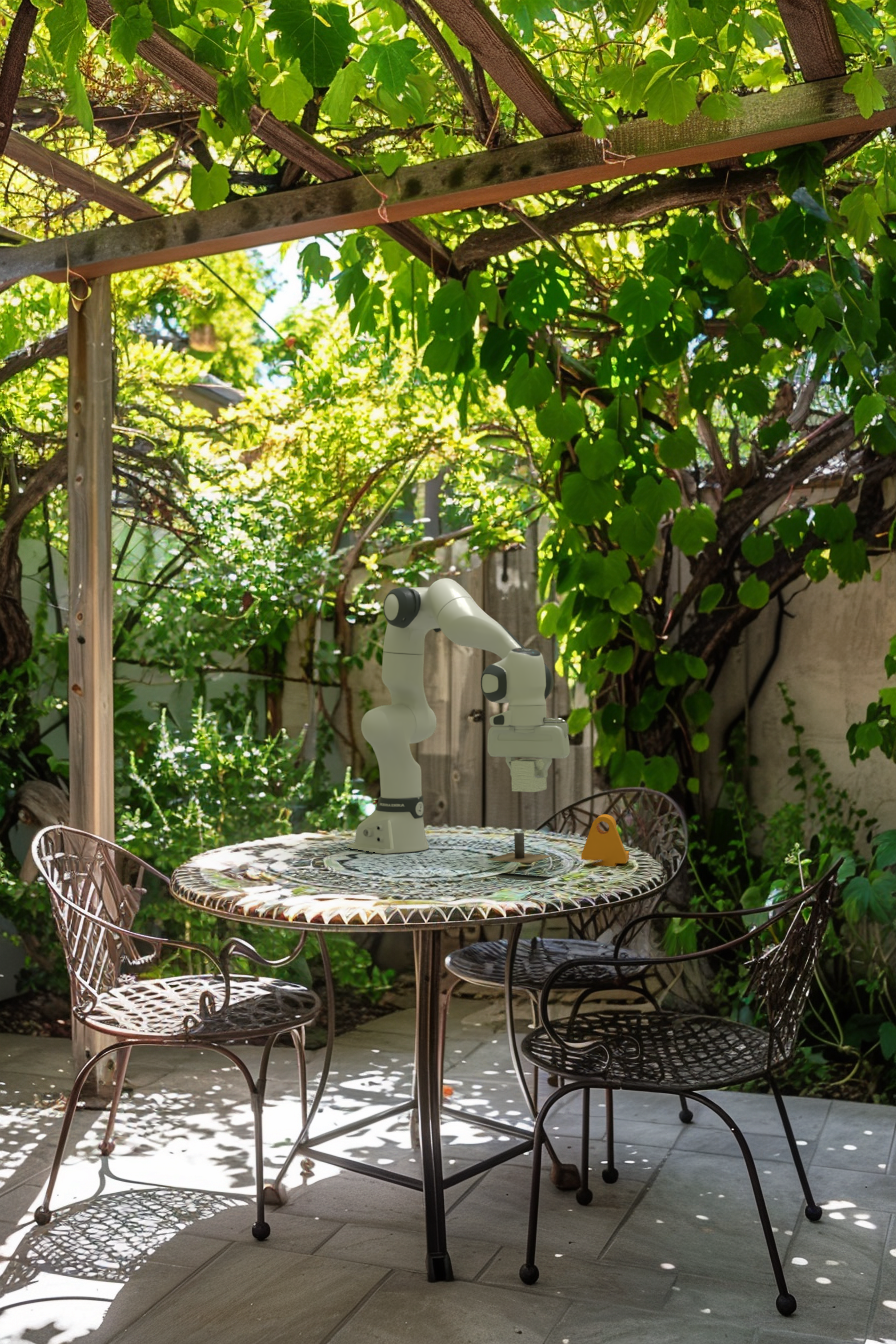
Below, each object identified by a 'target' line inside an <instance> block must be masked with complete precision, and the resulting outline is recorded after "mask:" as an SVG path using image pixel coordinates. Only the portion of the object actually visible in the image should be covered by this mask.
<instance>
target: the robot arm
mask: <svg viewBox="0 0 896 1344" xmlns="http://www.w3.org/2000/svg"><path fill="white" fill-rule="evenodd" d="M383 615H384V618H385V619H386V622H387V625H386V629H385V634H384V640H383V646H382V647H383V648H382V649H383V650H382V651H383V652H382V665H381V667H382V668H381V680H382V683H383V685H385V687H387V689H388V692H389V694H390V699H391V704H386V705H385V704H382V705H380V706H377V707H374V708H372V709H369V710H368V711H366V712H365V714H364V715H363V716H362V718H361V723H360V729H361V733H362V736H363V738H364V739H365V741H366V742H367V743H368V744H369V745H370V746H371V748H372V749H373V752H374V754H375V757H376V759H377V760H376V761H377V763H378V769H379V785H380V796H379V797H378V798H376V799H373V800H372V802H373V803H372V805H376V806H375V810H374V811H373V812H372V813H371V814H370V815H369V816H367V817H366V818H365V819H364V820H363V821H361V823H359V824H358V826H357V827H356V831H355V839H354V842H351V843H349V844H347V845H346V846H347V847H346V849H347V848H353V849H358V850H364V851H363V852H366V851H369V852H368V853H373V852H375V853H376V854H385V855H387V854H397V853H411V852H412V853H413V852H420V851H421V852H422V851H425V850H428V849H429V848H430V846H429V843H428V840H427V834H426V829H425V824H424V823H425V822H424V814H425V813H424V811H425V809H424V808H425V805H424V804H425V803H424V796H423V795H422V790H423V788H422V768H421V765H420V764H419V763H418V761H416V760H415V759H414V756H413V754H412V750H411V746H410V745H412V744H418V743H420V742H424V741H425V740H427V739H429V738H430V737H432V736H433V735H434V733H435V732H436V730H437V717H436V714H435V712H434V711H433V709H432V708H431V707H430V706H429V702H428V699H427V697H426V692H425V687H424V686H425V685H424V665H425V664H424V661H425V641H426V638H425V637H426V635H427V634H428V633H429V632H430V631H431V630H433V631H434V632H435V633H438V632H442V633H443V635H444V636H446V638H447V639H449V640H450V641H451V642H452V643H454V644H455V645H458V646H461V647H468V648H474V649H478V650H483V651H487V652H490V653H493V654H495V655H497V656H498V657H499V658H500V659H501V660H499V661H497V662H495V663H492V664H489V665H487V666H486V667H485V668H484V670H483V671H482V674H481V678H480V688H481V689H480V690H481V691H482V694H483V695H484V697H485V699H487V701H489V702H490V703H495V704H496V703H497V704H505V703H508V709H507V711H503V712H501V713H497V714H495V715H492V716H491V717H489V725H490V728H489V729H488V732H487V733H488V734H487V741H486V742H487V753H488V754H489V756H490V757H494V758H495V757H496V758H505V763H506V765H507V767H508V768H509V770H510V773H509V775H510V777H511V778H512V776H511V761H514V760H516V758H523V759H542V762H543V763H545V764H544V766H543V768H542V770H539V778H546V779H547V778H548V776H549V775H548V770H549V768H550V766H551V765H552V763H553V760H552V759H566V758H568V757H569V755H570V754H571V747H570V740H569V723H568V722H567V721H566V720H564V719H563V718H562V717H556V718H555V717H547V701H546V700H547V698H548V697H549V696H550V695H551V692H552V690H553V688H554V683H555V681H554V675H553V673H552V671H551V669H550V668H549V666H548V665H547V664H546V663H545V660H544V656H543V654H542V652H541V651H539V650H537V649H535V648H527V647H525V646H524V645H523V644H522V643H521V642H520V641H519V640H518V639H517V638H516V636H515V635H513V633H511V631H510V630H508V629H507V628H506V626H504V625H502V624H501V623H500V622H499V621H496V620H495V619H494V618H492V617H491V616H490V615H488V614H487V613H486V612H485V611H484V610H483V609H482V608H481V607H480V606H479V605H478V604H477V602H476V601H475V600H474V599H473V597H472V595H470V594H469V592H468V591H467V590H466V589H465V588H464V587H463V586H462V585H460V584H459V583H458V581H456V580H454V579H452V578H448V577H447V578H445V577H444V578H440V579H438V580H435V581H434V582H433V583H432V584H430V586H423V587H418V586H417V587H407V586H401V587H395V588H393V589H390V590H389V592H388V593H387V594H386V596H385V598H384V601H383ZM358 850H357V851H358ZM375 853H374V854H375Z"/></svg>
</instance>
